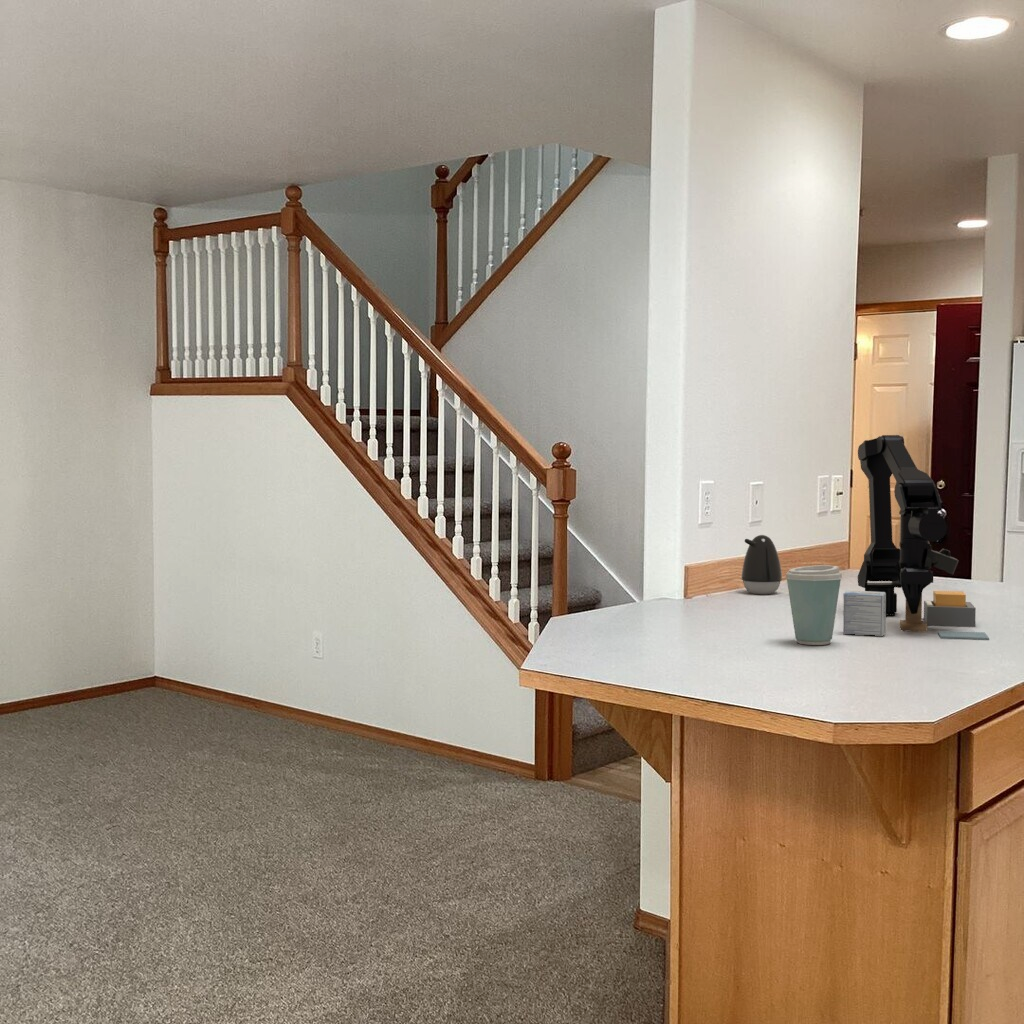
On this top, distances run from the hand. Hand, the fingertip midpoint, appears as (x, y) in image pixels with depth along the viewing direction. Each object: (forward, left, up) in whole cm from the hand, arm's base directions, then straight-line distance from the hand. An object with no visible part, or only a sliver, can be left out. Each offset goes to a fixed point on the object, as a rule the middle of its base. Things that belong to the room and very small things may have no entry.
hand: (913, 612), depth 244 cm
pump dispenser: (-34, +52, -4) cm, 62 cm away
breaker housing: (+8, +11, -4) cm, 14 cm away
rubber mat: (+9, -7, -4) cm, 12 cm away
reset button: (+8, +11, 0) cm, 14 cm away
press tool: (0, 0, -4) cm, 4 cm away
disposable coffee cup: (-20, -22, -4) cm, 30 cm away
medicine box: (-10, -9, -4) cm, 14 cm away
